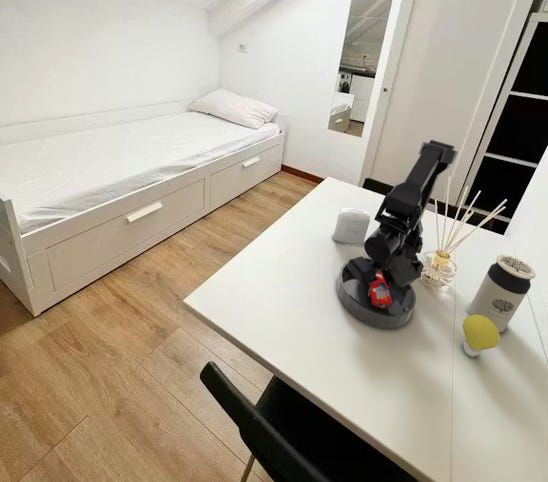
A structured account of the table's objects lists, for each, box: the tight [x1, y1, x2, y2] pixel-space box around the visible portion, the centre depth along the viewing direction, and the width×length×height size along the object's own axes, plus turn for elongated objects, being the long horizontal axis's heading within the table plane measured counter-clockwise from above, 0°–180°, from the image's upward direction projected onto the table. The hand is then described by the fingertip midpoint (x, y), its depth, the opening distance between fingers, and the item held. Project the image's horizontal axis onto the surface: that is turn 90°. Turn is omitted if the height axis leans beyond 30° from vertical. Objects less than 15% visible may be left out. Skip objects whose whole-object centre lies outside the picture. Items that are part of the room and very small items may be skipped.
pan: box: [336, 257, 417, 330], centre depth 78 cm, size 19×19×4 cm
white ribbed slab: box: [332, 207, 371, 246], centre depth 97 cm, size 10×4×12 cm, turn 84°
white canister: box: [468, 254, 536, 333], centre depth 72 cm, size 8×8×18 cm
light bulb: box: [462, 314, 501, 357], centre depth 65 cm, size 7×7×10 cm
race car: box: [367, 270, 392, 309], centre depth 77 cm, size 13×5×4 cm, turn 176°
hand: (375, 286), depth 77 cm, fingers closed on race car, 6 cm apart
